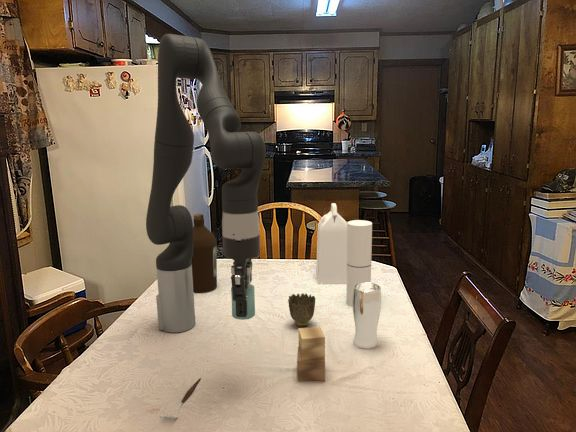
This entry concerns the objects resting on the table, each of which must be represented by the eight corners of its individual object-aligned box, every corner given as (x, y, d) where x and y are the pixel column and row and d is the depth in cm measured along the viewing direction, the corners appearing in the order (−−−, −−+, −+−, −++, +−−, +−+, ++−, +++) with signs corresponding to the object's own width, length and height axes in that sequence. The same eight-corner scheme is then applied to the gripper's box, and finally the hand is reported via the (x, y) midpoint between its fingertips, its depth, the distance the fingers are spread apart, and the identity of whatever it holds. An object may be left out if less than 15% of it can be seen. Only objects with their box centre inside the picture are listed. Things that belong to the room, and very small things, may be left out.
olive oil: (186, 295, 150) (181, 219, 145) (186, 283, 161) (181, 212, 155) (220, 292, 153) (216, 217, 147) (217, 280, 163) (214, 210, 157)
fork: (206, 381, 103) (205, 372, 103) (172, 427, 88) (171, 418, 88) (195, 379, 104) (194, 371, 103) (159, 426, 89) (158, 416, 88)
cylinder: (230, 319, 97) (229, 292, 95) (233, 309, 101) (232, 283, 100) (253, 319, 96) (253, 292, 95) (256, 309, 101) (255, 283, 100)
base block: (297, 381, 102) (297, 360, 101) (298, 366, 108) (297, 346, 107) (325, 382, 102) (325, 361, 100) (324, 367, 107) (324, 347, 106)
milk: (352, 284, 158) (353, 208, 152) (317, 284, 158) (317, 208, 152) (348, 272, 170) (349, 201, 164) (316, 272, 170) (316, 201, 164)
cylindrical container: (343, 306, 140) (344, 224, 135) (349, 297, 147) (350, 219, 141) (367, 309, 138) (369, 226, 132) (372, 300, 144) (374, 221, 139)
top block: (302, 360, 101) (301, 338, 100) (298, 348, 106) (298, 328, 105) (324, 358, 102) (324, 337, 100) (320, 347, 106) (320, 326, 105)
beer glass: (362, 352, 113) (364, 294, 110) (346, 340, 119) (347, 285, 116) (385, 345, 116) (387, 288, 113) (368, 334, 122) (369, 280, 119)
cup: (313, 332, 124) (313, 304, 122) (286, 330, 125) (285, 302, 124) (317, 320, 131) (317, 293, 129) (291, 318, 132) (291, 291, 131)
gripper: (228, 223, 102) (230, 297, 106) (216, 242, 88) (219, 326, 92) (262, 223, 102) (264, 297, 105) (255, 242, 88) (257, 326, 92)
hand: (243, 310), depth 99 cm, fingers closed on cylinder, 4 cm apart
